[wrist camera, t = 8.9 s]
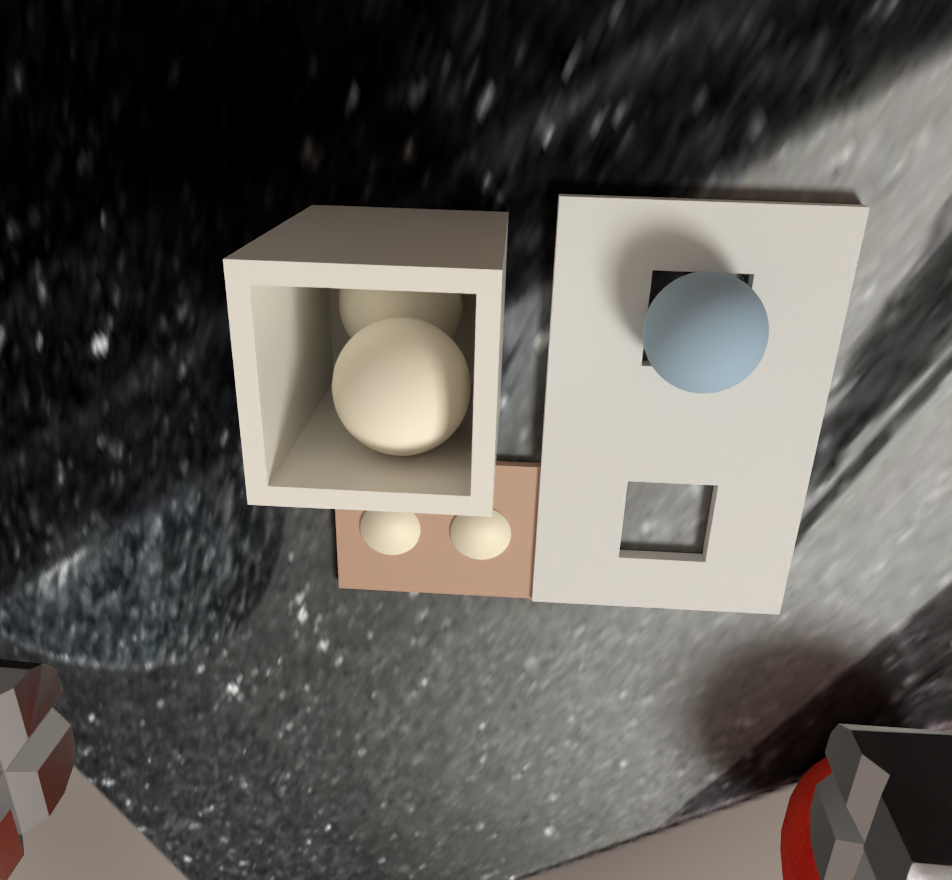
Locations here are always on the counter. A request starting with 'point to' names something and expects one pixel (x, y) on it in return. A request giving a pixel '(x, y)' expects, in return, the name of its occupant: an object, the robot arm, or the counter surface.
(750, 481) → the board
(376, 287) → the tube
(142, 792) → the counter surface
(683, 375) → the blue ball
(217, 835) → the counter surface
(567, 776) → the counter surface
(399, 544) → the card
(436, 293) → the tube ball
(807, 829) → the apple
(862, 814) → the robot arm
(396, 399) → the cream ball
